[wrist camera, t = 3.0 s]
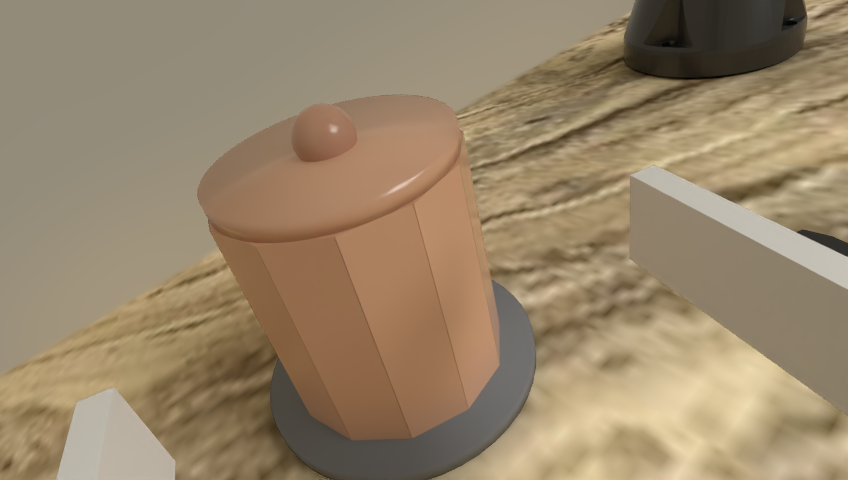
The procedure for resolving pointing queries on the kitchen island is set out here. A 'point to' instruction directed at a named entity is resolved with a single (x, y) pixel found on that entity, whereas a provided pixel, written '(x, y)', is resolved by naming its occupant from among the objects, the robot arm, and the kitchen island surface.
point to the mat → (432, 450)
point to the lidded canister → (363, 260)
